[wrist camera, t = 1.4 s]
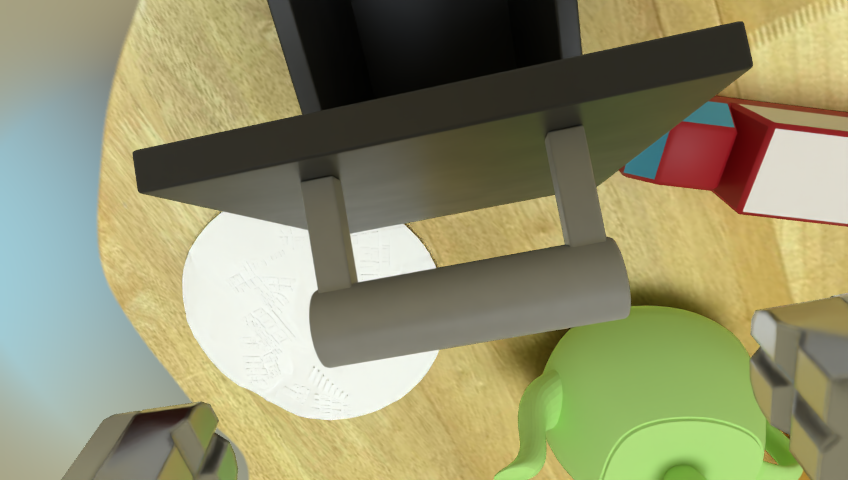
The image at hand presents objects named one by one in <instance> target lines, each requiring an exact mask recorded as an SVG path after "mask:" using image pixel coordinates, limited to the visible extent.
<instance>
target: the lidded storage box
mask: <svg viewBox="0 0 848 480" xmlns="http://www.w3.org/2000/svg"><path fill="white" fill-rule="evenodd" d="M267 2H268V5H269V8H270V11H271V15H272V18H273V21H274V24H275V28H276V31H277V34H278V37H279V41H280V44H281V47H282V50H283V53H284V57H285V60H286V63H287V66H288V70H289V73H290V76H291V79H292V83H293V86H294V89H295V92H296V96H297V99H298V102H299V105H300V109H301V112H302V115H303V114H308V113H313V112H317V111H322V110H327V109H332V108H336V107H341V106H346V105H350V104H355V103H360V102H364V101H369V100H374V99H378V98H383V97H388V96H392V95H397V94H402V93H406V92H411V91H416V90H420V89H425V88H430V87H435V86H439V85H444V84H449V83H453V82H458V81H463V80H467V79H472V78H477V77H481V76H486V75H491V74H495V73H500V72H505V71H509V70H514V69H519V68H523V67H528V66H533V65H537V64H542V63H547V62H552V61H556V60H561V59H566V58H570V57H575V56H580V55H582V46H581V35H580V24H579V12H578V1H577V0H267Z"/></svg>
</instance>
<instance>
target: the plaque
mask: <svg viewBox="0 0 848 480" xmlns="http://www.w3.org/2000/svg"><path fill="white" fill-rule="evenodd" d="M350 237H351V243H352V249H353V255H354V261H355V267H356V272H357V278H358V282H362V281H368V280H373V279H379V278H384V277H390V276H395V275H401V274H406V273H412V272H417V271H423V270H428V269H434V268H436V266H435V264H434V262H433V260H432V258H431V255H430V254H429V252H428V251H427V249H426V248H425V246H424V245H423V244H422V242H421V241H420V240H419V239H418V238H417V236H416V235H415V234H414V233H413V232H412V231H411V230H410V229H409V228H408V227H406V226H405V225H404V224H399V225H394V226H388V227H383V228H378V229H373V230H367V231H362V232H357V233H352V234H350ZM182 285H183V301H184V307H185V312H186V318H187V322H188V324H189V326H190V328H191V330H192V332H193V335H194V337H195V339H196V340H197V341H198V343H199V345H200V346H201V348H202V349H203V350H204V352H205V353H206V354H207V356H208V357H209V358H210V360H211V361H212V362H213V363H214V364H215V366H216V367H217V368H218V369H219V370H220V371H221V372H222V373H223V374H224V375H226V376H227V377H228V378H230V379H231V380H232V381H233V382H235V383H236V384H238V385H239V386H241V387H243V388H246V389H249V390H251V391H253V392H255V393H257V394H258V395H260V396H262V397H263V398H264V399H265V400H267V401H270V402H272V403H274V404H276V405H278V406H280V407H282V408H283V409H285V410H287V411H289V412H291V413H293V414H296V415H298V416H301V417H305V418H313V419H323V420H337V419H346V418H352V417H357V416H361V415H365V414H368V413H371V412H374V411H377V410H380V409H382V408H384V407H386V406H387V405H389V404H391V403H393V402H395V401H397V400H399V399H400V398H402V397H403V396H404V395H405V394H407V393H408V392H409V391H410V390H411V389H412V388H413V387H415V386H416V385H417V384H418V383H419V381H420V380H421V379H422V378H423V377H424V376H425V375H426V373H427V372H428V370H429V369H430V367H431V366H432V364H433V362H434V360H435V358H436V356H437V354H438V352H439V350H434V351H429V352H423V353H417V354H411V355H405V356H399V357H393V358H387V359H381V360H375V361H369V362H363V363H357V364H351V365H345V366H339V367H333V368H327V367H325V366H323V365H322V364H321V362H320V360H319V359H318V357H317V354H316V352H315V349H314V346H313V342H312V338H311V332H310V324H309V307H310V300H311V296H312V294H313V293H314V292H315V291H316V290H318V288H317V282H316V276H315V270H314V264H313V257H312V251H311V245H310V239H309V233H308V230H305V229H301V228H296V227H292V226H287V225H282V224H278V223H273V222H269V221H264V220H260V219H255V218H251V217H246V216H242V215H237V214H232V213H228V212H222V213H220V214H219V215H218V216H217V217H215V218H214V219H213V220H212V221H211V222H210V223H209V224H208V225H207V226H206V227H205V228H204V230H203V231H202V232H201V233H200V235H199V236H198V237H197V239H196V241H195V242H194V244H193V245H192V247H191V249H190V250H189V253H188V256H187V259H186V262H185V265H184V270H183V279H182Z"/></svg>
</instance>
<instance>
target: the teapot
mask: <svg viewBox="0 0 848 480" xmlns="http://www.w3.org/2000/svg"><path fill="white" fill-rule="evenodd" d="M750 359H751V358H750V356H749V354H748V353H747V351H746V349H745V348H744V346H743V345H742V343H741V342H740V341H739V340H738V339H737V338H736V336H735V335H734V334H733V333H731V332H730V331H729V330H727V329H726V328H725V327H723V326H722V325H720V324H718V323H716V322H714V321H713V320H711V319H709V318H707V317H704V316H702V315H699V314H697V313H694V312H690V311H687V310H683V309H678V308H672V307H664V306H631V308H630V314H629V316H628V317H626V318H625V319H620V320H614V321H608V322H602V323H596V324H590V325H584V326H578V327H572V328H571V329H570V330H569V331H568V332H567V333H566V334H565V335H564V336H563V337H562V338H561V339H560V341H559V342H558V344H557V345H556V347H555V349H554V350H553V352H552V353H551V356H550V358H549V360H548V362H547V364H546V366H545V369H544V372H543V374H542V375H541V376H539V377H537V378H536V379H534V380H533V381H532V382H531V383H530V384H529V385H528V387H527V388H526V390H525V392H524V394H523V396H522V398H521V401H520V404H519V411H518V429H519V438H520V450H519V453H518V456H517V457H516V459H515V460H514V461H513V462H512V463H511V464H509V465H508V466H507V467H505V468H504V469H502V470H501V471H499V472H498V473H497V474H496V475H495V477H494V480H528V479H530V478H532V477H534V476H535V475H536V474H537V473H538V472H539V471H540V470H541V469H542V467H543V465H544V463H545V459H546V440H547V442H548V444H549V446H550V448H551V449H552V451H553V453H554V455H555V456H556V458H557V460H558V461H559V462H560V464H561V465H562V466H563V468H564V469H565V470H566V471H567V472H568V474H569V475H570V476H571V477H572V478H573V479H574V480H798V479H799V478H800V476H801V475H802V472H803V469H802V468H801V466H800V465H799V463H798V462H797V461H796V459H795V458H794V457H793V455H792V454H791V453H790V451H789V442H790V440H789V439H788V438H787V437H786V436H785V435H784V434H783V433H782V432H781V431H780V430H779V429H777V428H775V427H773V426H771V425H770V423H769V422H768V420H767V419H766V418H765V416H764V415H763V413H762V412H761V410H760V408H759V406H758V404H757V402H756V400H755V398H754V394H753V390H752V386H751V382H750ZM764 450H766V451H767V452H768V453H769V454H770V455H771V456H772V457H773V458H774V460H775V461H776V462H777V463H778V464H779V465H776V464H772V463H769V462H765V461H763V456H764Z"/></svg>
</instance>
